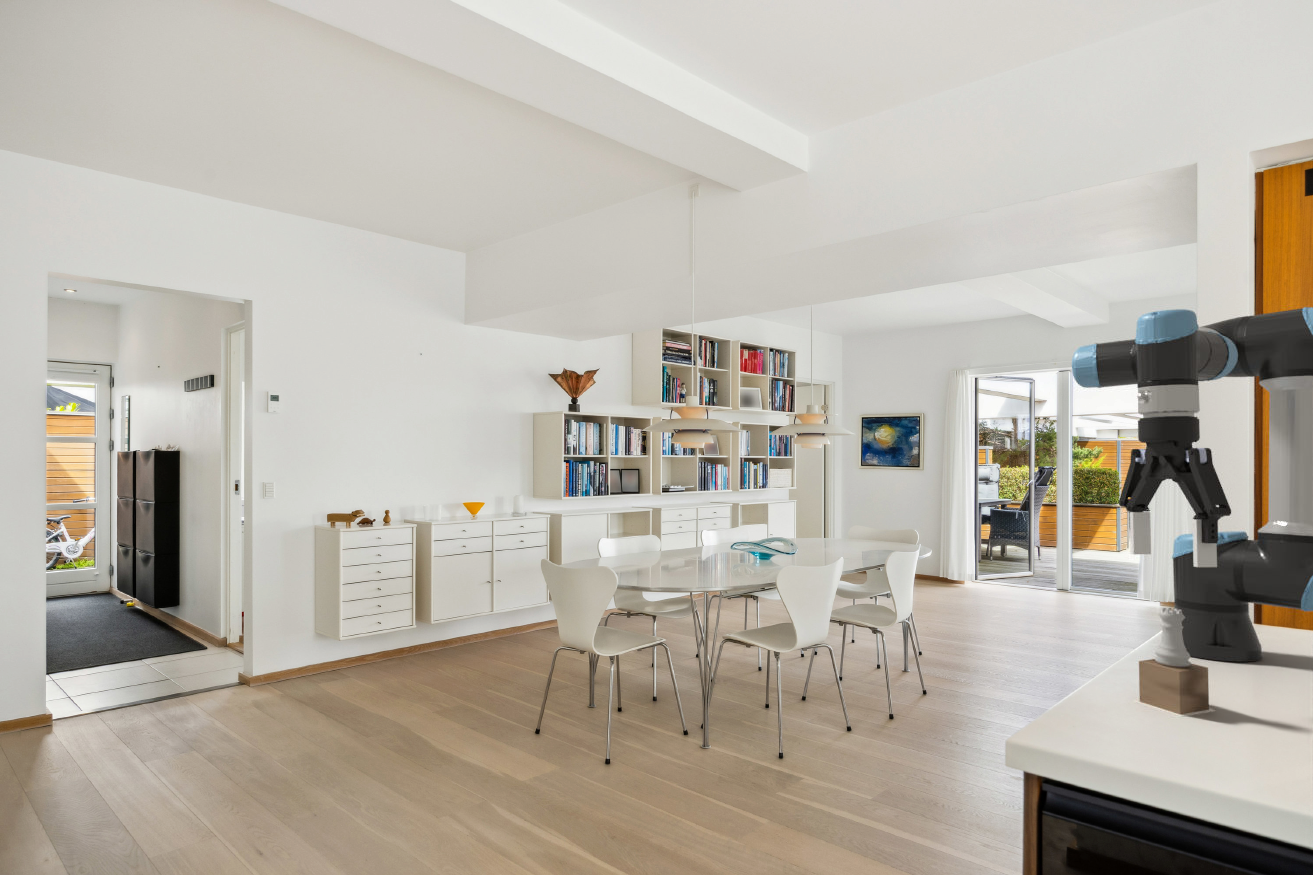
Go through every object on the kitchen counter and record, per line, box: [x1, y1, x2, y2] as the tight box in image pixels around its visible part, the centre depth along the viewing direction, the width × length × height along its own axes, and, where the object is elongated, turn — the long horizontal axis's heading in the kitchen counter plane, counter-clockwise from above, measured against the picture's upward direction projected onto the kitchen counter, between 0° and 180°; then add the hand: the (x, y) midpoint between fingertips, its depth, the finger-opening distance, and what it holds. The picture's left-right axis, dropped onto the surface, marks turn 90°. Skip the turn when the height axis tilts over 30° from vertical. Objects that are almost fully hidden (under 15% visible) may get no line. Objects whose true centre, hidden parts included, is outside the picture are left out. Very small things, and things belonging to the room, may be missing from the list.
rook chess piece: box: [1154, 607, 1192, 668], centre depth 110 cm, size 4×4×8 cm
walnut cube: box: [1138, 658, 1210, 715], centre depth 110 cm, size 6×6×6 cm
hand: (1171, 560), depth 111 cm, fingers open, 13 cm apart
